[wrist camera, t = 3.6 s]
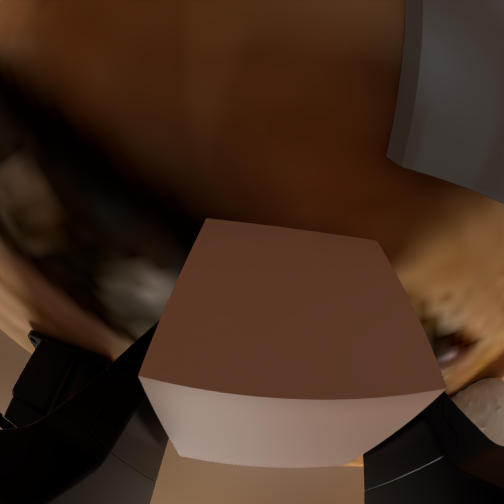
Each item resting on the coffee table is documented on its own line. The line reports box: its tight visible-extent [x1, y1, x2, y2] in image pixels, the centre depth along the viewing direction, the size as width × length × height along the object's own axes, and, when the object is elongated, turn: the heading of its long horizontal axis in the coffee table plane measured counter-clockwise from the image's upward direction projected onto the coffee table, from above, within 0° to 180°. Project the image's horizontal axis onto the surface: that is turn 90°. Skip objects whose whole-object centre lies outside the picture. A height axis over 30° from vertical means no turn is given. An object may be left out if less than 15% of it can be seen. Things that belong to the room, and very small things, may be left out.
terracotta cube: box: [138, 218, 447, 468], centre depth 7 cm, size 5×5×5 cm
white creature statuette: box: [451, 377, 504, 446], centre depth 9 cm, size 10×9×12 cm
